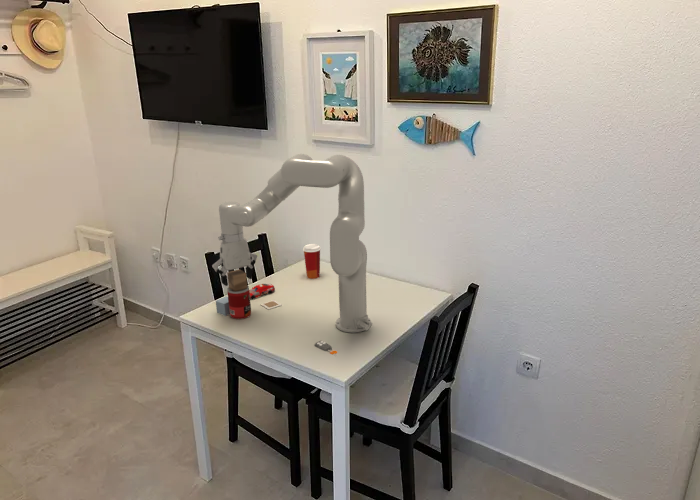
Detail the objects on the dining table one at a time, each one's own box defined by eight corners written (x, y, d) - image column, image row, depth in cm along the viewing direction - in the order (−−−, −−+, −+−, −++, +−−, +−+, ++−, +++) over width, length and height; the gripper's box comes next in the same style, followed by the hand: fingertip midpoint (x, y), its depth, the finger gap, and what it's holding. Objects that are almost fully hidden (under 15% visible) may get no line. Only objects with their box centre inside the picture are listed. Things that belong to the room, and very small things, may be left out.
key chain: (313, 347, 178) (313, 343, 177) (322, 343, 180) (321, 339, 179) (338, 361, 168) (338, 357, 168) (347, 357, 171) (347, 353, 170)
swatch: (281, 305, 208) (281, 304, 208) (268, 309, 204) (268, 308, 204) (274, 300, 212) (274, 299, 212) (260, 304, 209) (260, 303, 209)
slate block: (235, 311, 204) (234, 299, 203) (225, 316, 201) (224, 303, 199) (227, 308, 207) (225, 296, 206) (216, 312, 203) (215, 300, 202)
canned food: (249, 319, 197) (246, 291, 194) (227, 319, 198) (224, 292, 194) (253, 310, 205) (250, 283, 201) (232, 310, 205) (229, 284, 201)
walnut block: (247, 288, 197) (245, 272, 195) (234, 291, 194) (233, 276, 192) (241, 284, 201) (239, 269, 199) (228, 287, 198) (227, 272, 196)
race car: (247, 301, 213) (247, 292, 212) (241, 297, 217) (240, 288, 216) (277, 292, 220) (276, 283, 219) (270, 289, 224) (269, 280, 223)
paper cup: (315, 272, 241) (313, 242, 236) (325, 276, 235) (324, 246, 230) (300, 276, 236) (299, 246, 231) (311, 281, 230) (309, 250, 226)
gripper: (214, 244, 183) (219, 290, 189) (259, 234, 193) (263, 278, 199) (205, 239, 189) (210, 284, 194) (249, 229, 199) (253, 272, 204)
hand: (237, 281), depth 197 cm, fingers open, 9 cm apart
